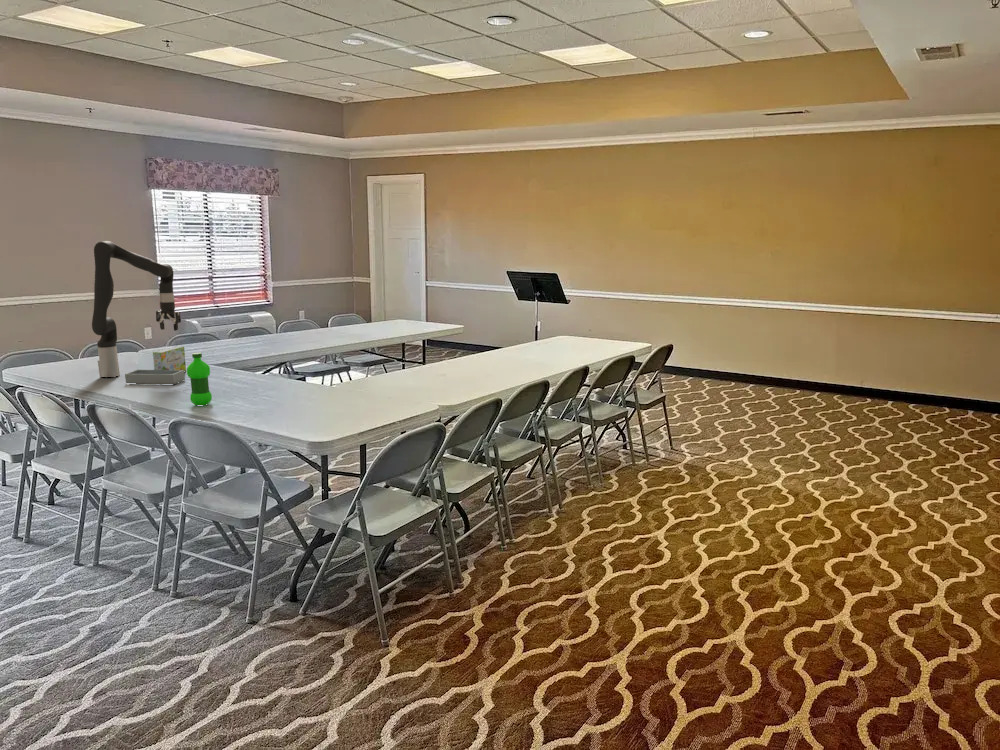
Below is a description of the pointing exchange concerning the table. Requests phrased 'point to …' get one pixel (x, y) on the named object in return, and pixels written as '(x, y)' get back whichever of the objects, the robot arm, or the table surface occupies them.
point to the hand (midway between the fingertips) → (169, 329)
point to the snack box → (170, 359)
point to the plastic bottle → (199, 380)
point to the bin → (155, 376)
